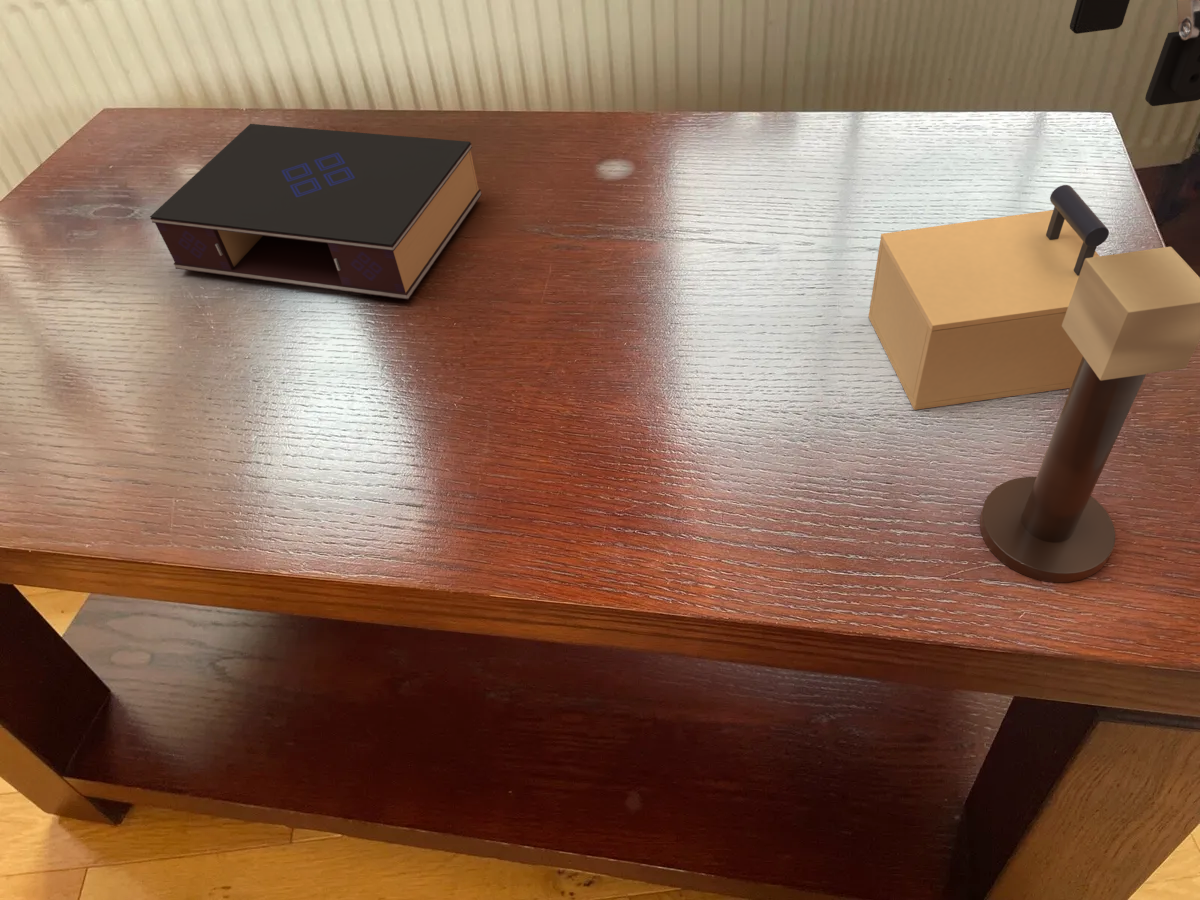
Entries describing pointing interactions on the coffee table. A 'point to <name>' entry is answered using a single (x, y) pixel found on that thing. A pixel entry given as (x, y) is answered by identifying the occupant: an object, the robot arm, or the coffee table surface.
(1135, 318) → the block
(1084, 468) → the stand
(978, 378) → the carton
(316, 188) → the black flat box
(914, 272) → the carton flap
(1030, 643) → the coffee table surface
